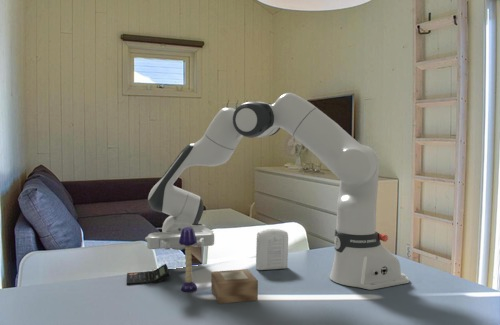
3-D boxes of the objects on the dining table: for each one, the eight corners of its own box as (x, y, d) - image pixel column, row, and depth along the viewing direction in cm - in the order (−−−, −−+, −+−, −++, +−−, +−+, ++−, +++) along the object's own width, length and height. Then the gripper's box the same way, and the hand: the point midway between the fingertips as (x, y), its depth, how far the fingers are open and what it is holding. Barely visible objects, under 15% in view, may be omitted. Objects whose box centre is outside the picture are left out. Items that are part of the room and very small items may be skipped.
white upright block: (284, 265, 144) (285, 227, 143) (289, 269, 140) (290, 229, 139) (254, 267, 141) (254, 228, 140) (258, 271, 137) (258, 231, 136)
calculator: (127, 275, 133) (127, 265, 133) (167, 273, 136) (167, 263, 135) (126, 286, 124) (126, 275, 123) (169, 283, 127) (169, 272, 126)
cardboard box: (247, 287, 123) (247, 268, 123) (257, 300, 113) (257, 279, 113) (211, 290, 120) (211, 270, 120) (218, 303, 111) (218, 282, 110)
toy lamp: (193, 293, 118) (193, 230, 117) (176, 291, 119) (176, 229, 118) (199, 287, 123) (199, 226, 122) (182, 285, 124) (182, 225, 122)
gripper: (145, 227, 141) (146, 236, 127) (209, 224, 146) (217, 233, 133) (145, 247, 141) (147, 258, 128) (209, 243, 146) (217, 254, 133)
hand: (183, 245), depth 130 cm, fingers open, 8 cm apart
